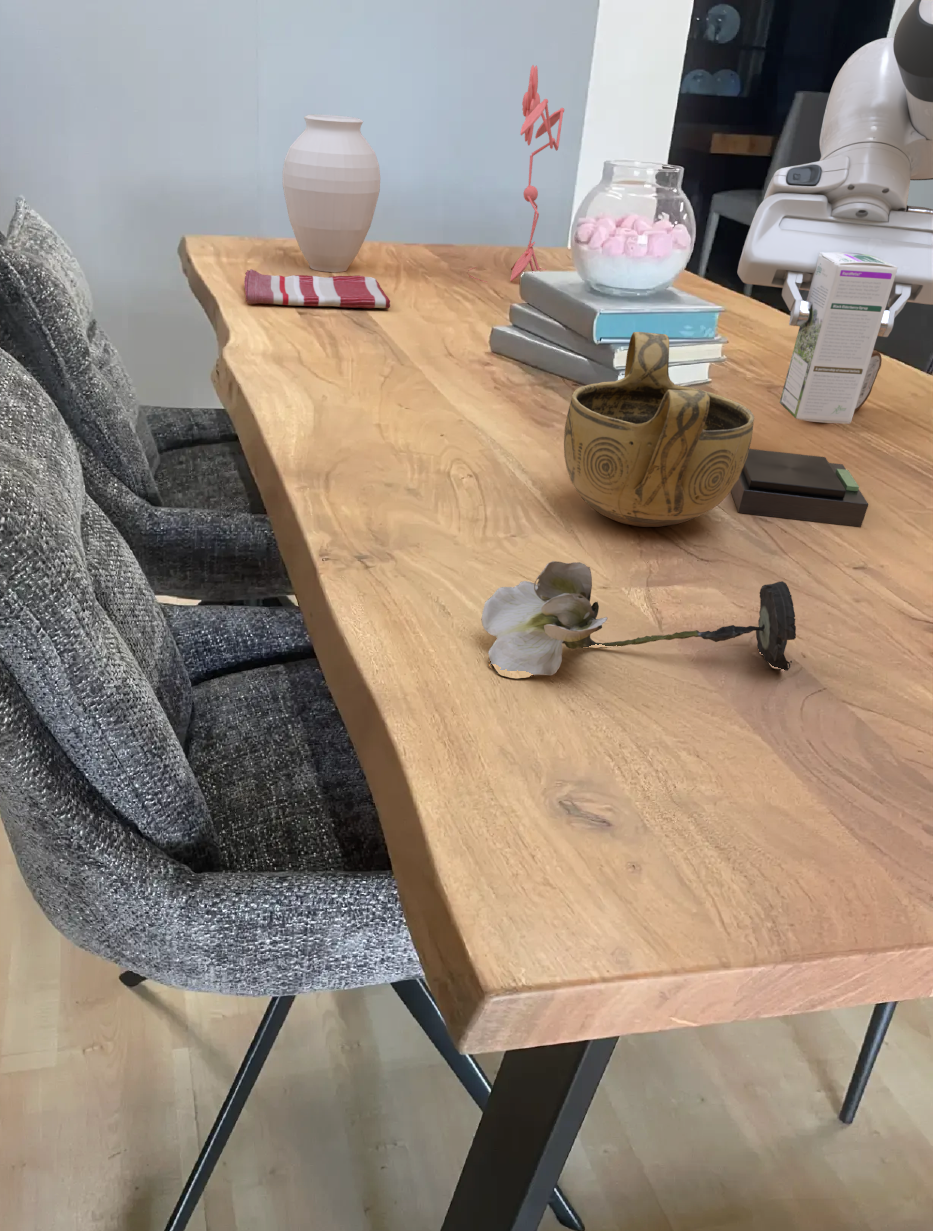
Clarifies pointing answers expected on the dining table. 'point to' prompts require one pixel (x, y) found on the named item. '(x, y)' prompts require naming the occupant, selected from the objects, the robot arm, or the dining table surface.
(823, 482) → the scale
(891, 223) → the robot arm
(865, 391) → the tin
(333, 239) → the vase
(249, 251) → the dining table surface
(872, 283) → the syrup box
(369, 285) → the dish towel
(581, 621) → the artificial flower
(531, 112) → the figurine
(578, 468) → the ceramic bowl
